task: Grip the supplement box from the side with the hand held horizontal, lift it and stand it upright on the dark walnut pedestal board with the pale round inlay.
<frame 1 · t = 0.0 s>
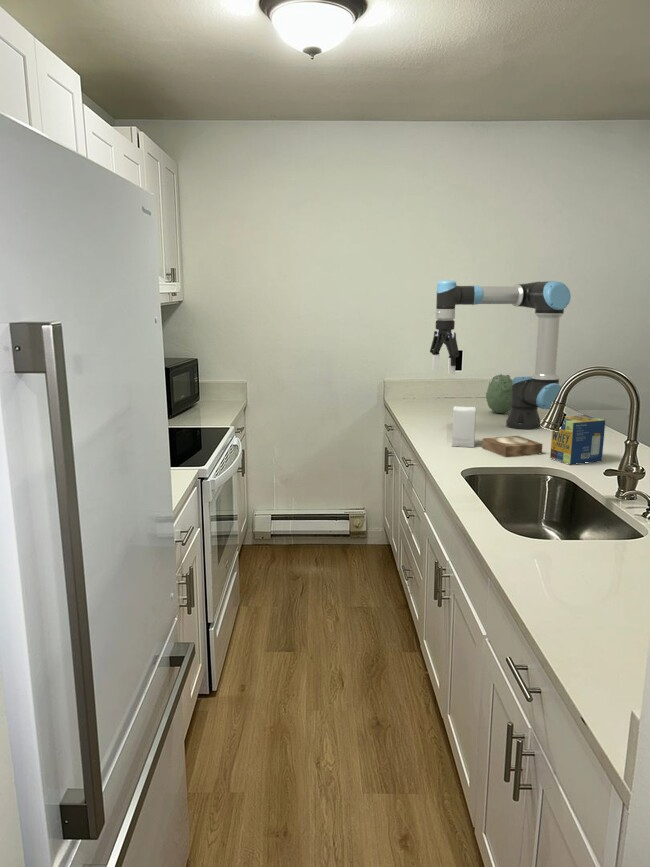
hand: (443, 372, 280), 28 cm above the worktop, tool pointing down, fingers open, 13 cm apart
supplement box: (463, 445, 275), on the worktop
protein box: (575, 460, 250), on the worktop
cabbage: (500, 413, 348), on the worktop
pedestal: (511, 451, 264), on the worktop
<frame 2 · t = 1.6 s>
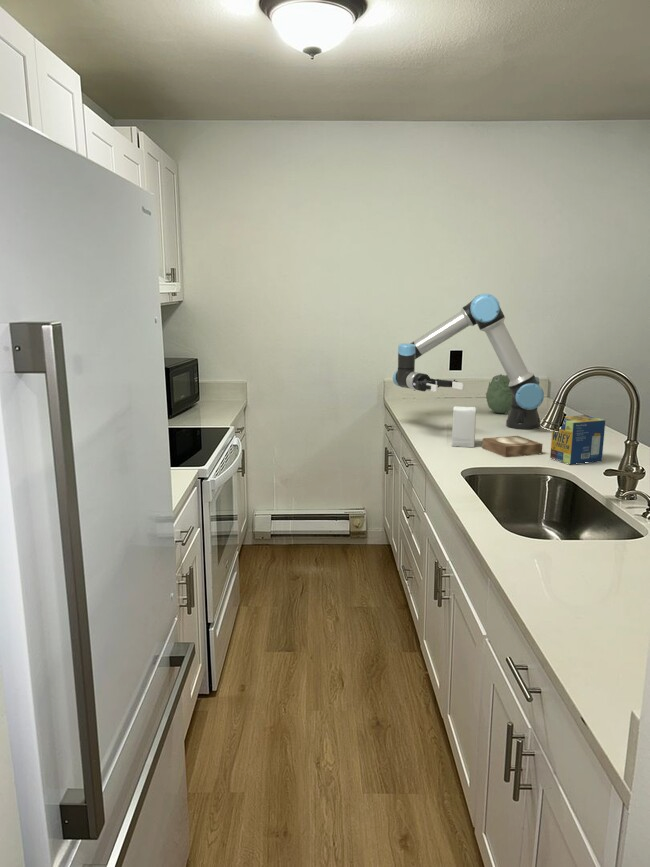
hand: (450, 387, 279), 22 cm above the worktop, tool horizontal, fingers open, 13 cm apart
nothing on the worktop moved.
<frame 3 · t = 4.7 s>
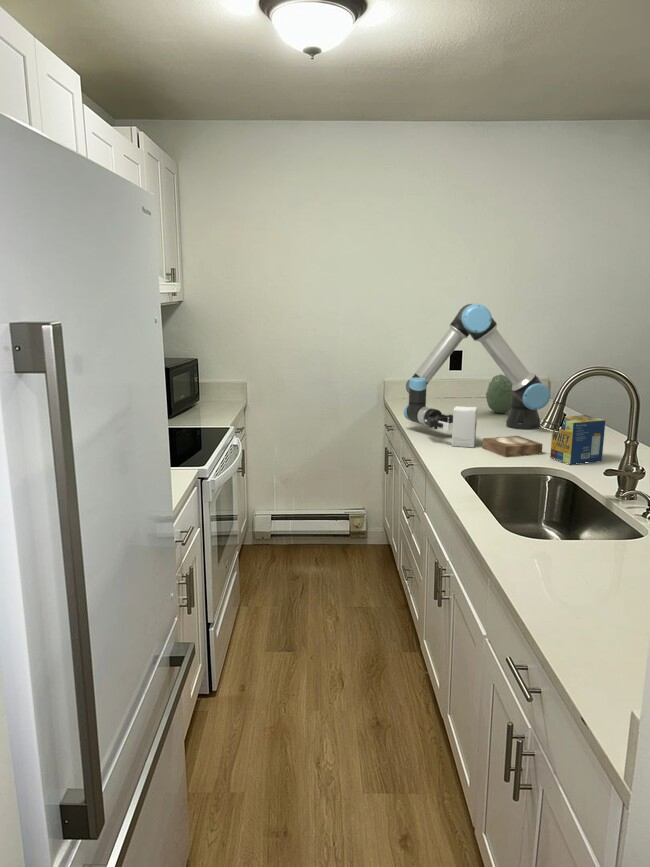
hand: (462, 425, 273), 8 cm above the worktop, tool horizontal, fingers open, 13 cm apart
supplement box: (463, 445, 275), on the worktop, touching gripper
everything else where it was.
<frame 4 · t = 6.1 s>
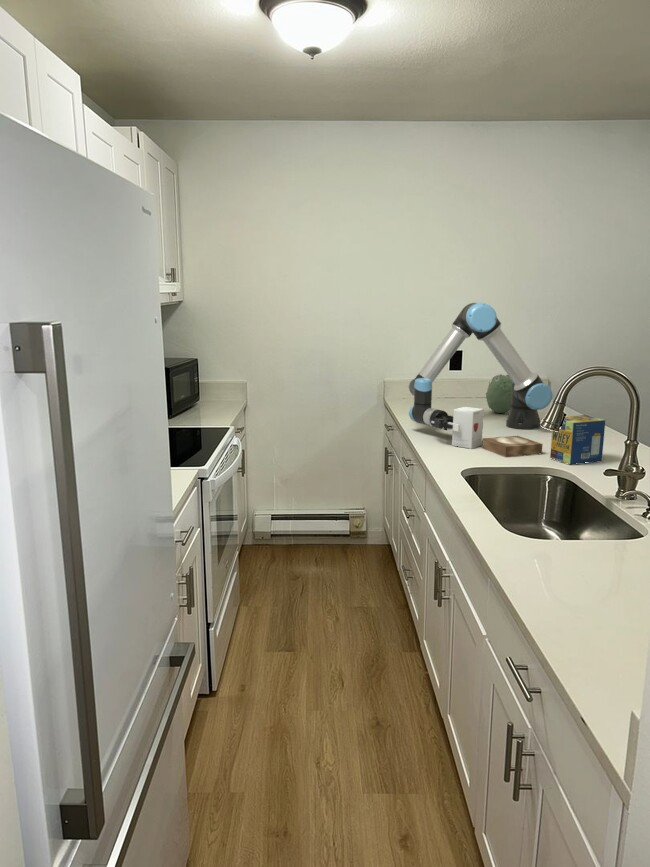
hand: (470, 426, 270), 8 cm above the worktop, tool horizontal, fingers closed on supplement box, 11 cm apart
supplement box: (466, 446, 273), on the worktop, touching gripper
everything else where it was.
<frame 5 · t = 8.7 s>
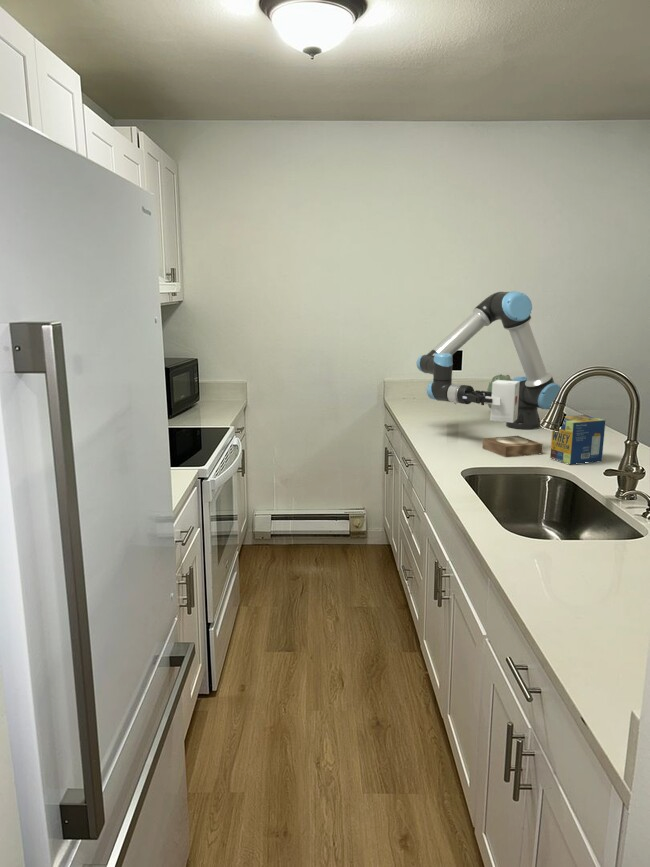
hand: (509, 400, 259), 20 cm above the worktop, tool horizontal, fingers closed on supplement box, 11 cm apart
supplement box: (503, 420, 262), point 12 cm above the worktop, touching gripper
everything else where it was.
when the fingers open (13 cm above the worktop, at t = 11.3 s): supplement box stays where it is, resting on pedestal.
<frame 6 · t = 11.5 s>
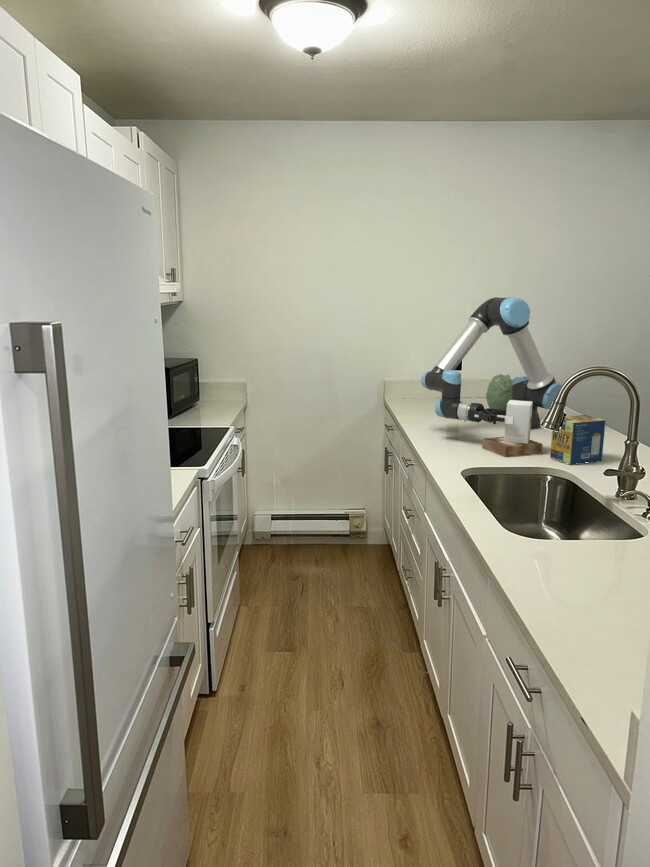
hand: (521, 418, 259), 13 cm above the worktop, tool horizontal, fingers open, 13 cm apart
supplement box: (517, 441, 262), point 4 cm above the worktop, touching pedestal
everything else where it was.
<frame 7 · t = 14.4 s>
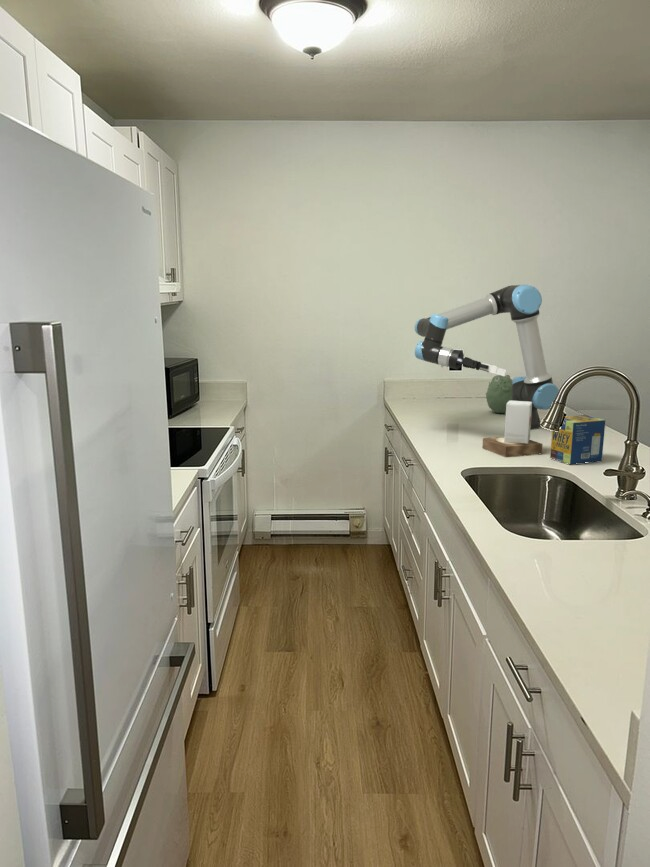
hand: (501, 371, 268), 30 cm above the worktop, tool horizontal, fingers open, 13 cm apart
nothing on the worktop moved.
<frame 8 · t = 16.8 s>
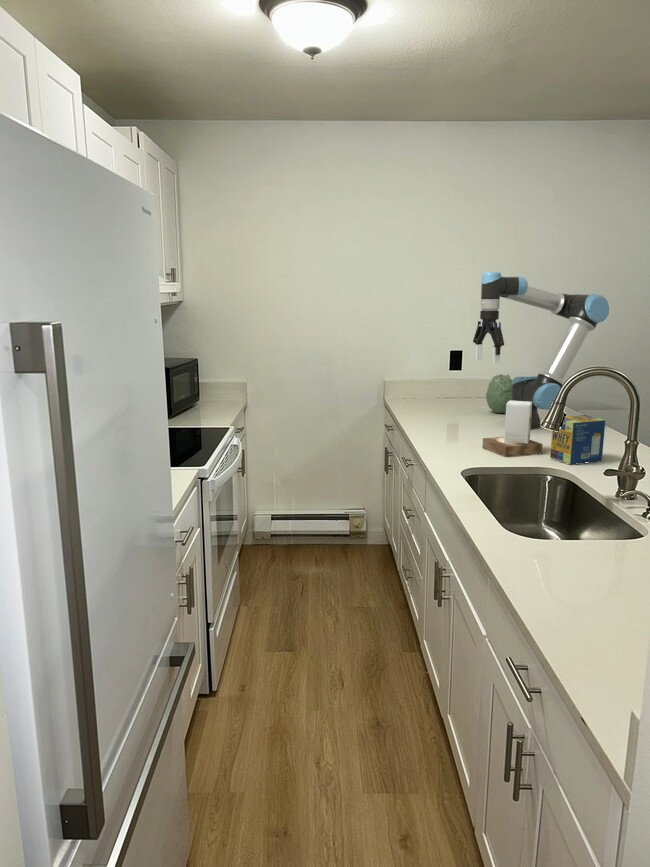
hand: (487, 361, 287), 32 cm above the worktop, tool pointing down, fingers open, 13 cm apart
nothing on the worktop moved.
at the end: supplement box inside the target area on the pedestal (2.1 cm from its centre), point 4.1 cm above the pedestal's base; supplement box tilted 0°; the gripper is holding nothing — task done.
